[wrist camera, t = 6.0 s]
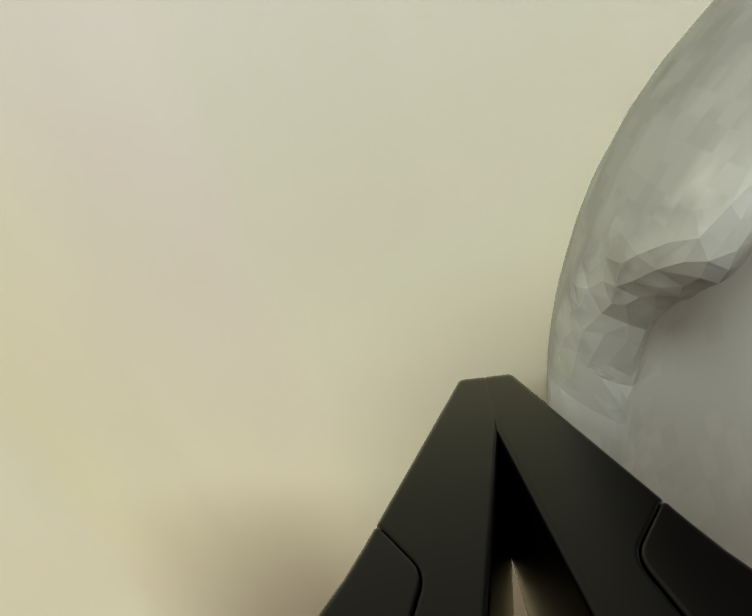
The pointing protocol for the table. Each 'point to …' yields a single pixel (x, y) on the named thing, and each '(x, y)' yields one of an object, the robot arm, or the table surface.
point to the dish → (670, 286)
